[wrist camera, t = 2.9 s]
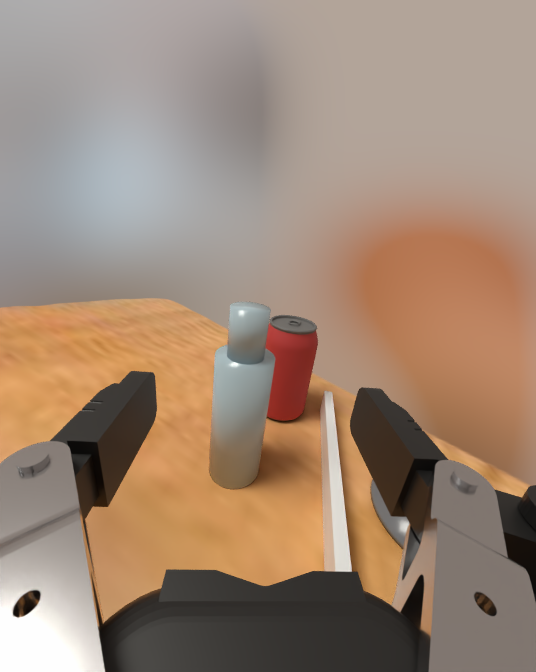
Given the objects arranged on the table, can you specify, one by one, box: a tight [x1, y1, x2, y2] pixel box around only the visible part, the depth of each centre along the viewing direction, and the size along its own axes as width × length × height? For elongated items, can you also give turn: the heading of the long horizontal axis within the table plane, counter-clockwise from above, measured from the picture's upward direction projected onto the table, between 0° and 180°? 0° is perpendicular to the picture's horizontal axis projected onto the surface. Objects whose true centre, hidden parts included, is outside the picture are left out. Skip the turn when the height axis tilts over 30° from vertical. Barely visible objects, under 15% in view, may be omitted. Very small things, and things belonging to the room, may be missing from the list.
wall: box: [320, 391, 352, 572], centre depth 24 cm, size 22×1×3 cm, turn 170°
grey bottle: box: [209, 302, 275, 489], centre depth 22 cm, size 5×5×16 cm
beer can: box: [266, 315, 318, 421], centre depth 32 cm, size 7×7×12 cm
